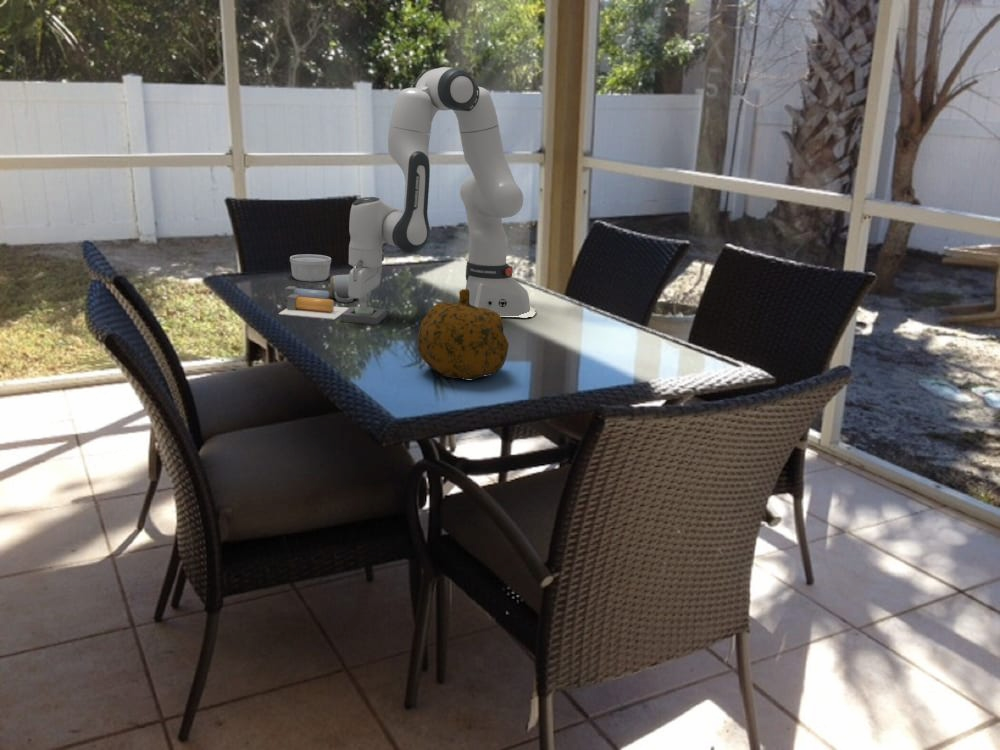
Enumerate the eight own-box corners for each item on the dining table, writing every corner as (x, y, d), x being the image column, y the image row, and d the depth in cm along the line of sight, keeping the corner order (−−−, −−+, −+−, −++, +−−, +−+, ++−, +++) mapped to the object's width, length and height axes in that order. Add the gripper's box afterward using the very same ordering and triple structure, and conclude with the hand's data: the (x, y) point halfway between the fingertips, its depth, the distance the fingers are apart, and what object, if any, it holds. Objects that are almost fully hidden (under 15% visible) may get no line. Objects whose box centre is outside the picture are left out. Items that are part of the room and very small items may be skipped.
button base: (386, 316, 265) (386, 309, 264) (376, 324, 255) (377, 317, 255) (351, 313, 266) (351, 306, 265) (340, 321, 256) (341, 314, 256)
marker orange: (334, 310, 266) (334, 298, 265) (330, 313, 263) (330, 300, 262) (291, 306, 267) (291, 294, 266) (287, 309, 264) (287, 296, 263)
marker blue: (329, 301, 278) (329, 289, 277) (326, 304, 275) (326, 292, 274) (289, 297, 280) (289, 286, 278) (284, 300, 276) (284, 288, 275)
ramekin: (298, 273, 316) (298, 252, 314) (336, 276, 314) (336, 255, 312) (284, 280, 303) (283, 259, 301) (323, 284, 302) (323, 262, 300)
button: (375, 315, 262) (375, 307, 262) (370, 319, 258) (370, 311, 257) (357, 313, 263) (357, 305, 262) (352, 317, 258) (352, 309, 258)
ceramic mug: (329, 295, 286) (329, 271, 284) (355, 295, 288) (356, 271, 286) (331, 303, 277) (332, 279, 274) (359, 303, 278) (359, 279, 276)
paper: (349, 308, 271) (349, 307, 271) (334, 319, 257) (334, 318, 257) (295, 303, 273) (295, 302, 272) (278, 314, 259) (278, 313, 259)
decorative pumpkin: (436, 387, 203) (441, 294, 199) (406, 368, 221) (410, 282, 217) (521, 385, 211) (528, 295, 207) (485, 366, 229) (490, 284, 226)
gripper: (366, 265, 245) (365, 317, 249) (385, 253, 265) (384, 301, 269) (342, 263, 246) (342, 315, 250) (363, 251, 266) (363, 299, 270)
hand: (364, 308), depth 260 cm, fingers closed
